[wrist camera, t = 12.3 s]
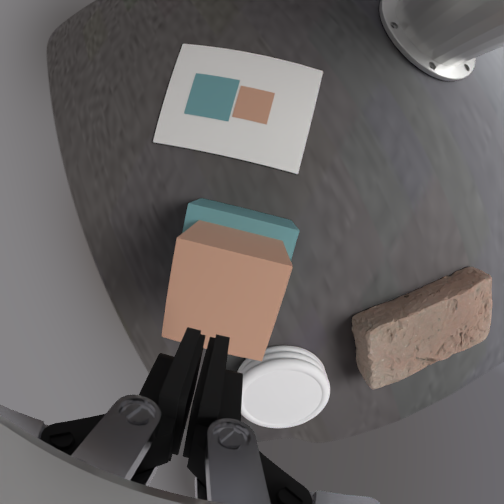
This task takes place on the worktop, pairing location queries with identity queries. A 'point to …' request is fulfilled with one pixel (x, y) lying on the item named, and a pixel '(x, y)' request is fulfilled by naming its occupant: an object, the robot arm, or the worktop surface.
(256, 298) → the clay block
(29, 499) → the robot arm
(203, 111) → the page
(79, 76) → the worktop surface
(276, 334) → the worktop surface
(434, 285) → the brick
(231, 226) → the base block
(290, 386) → the coaster
